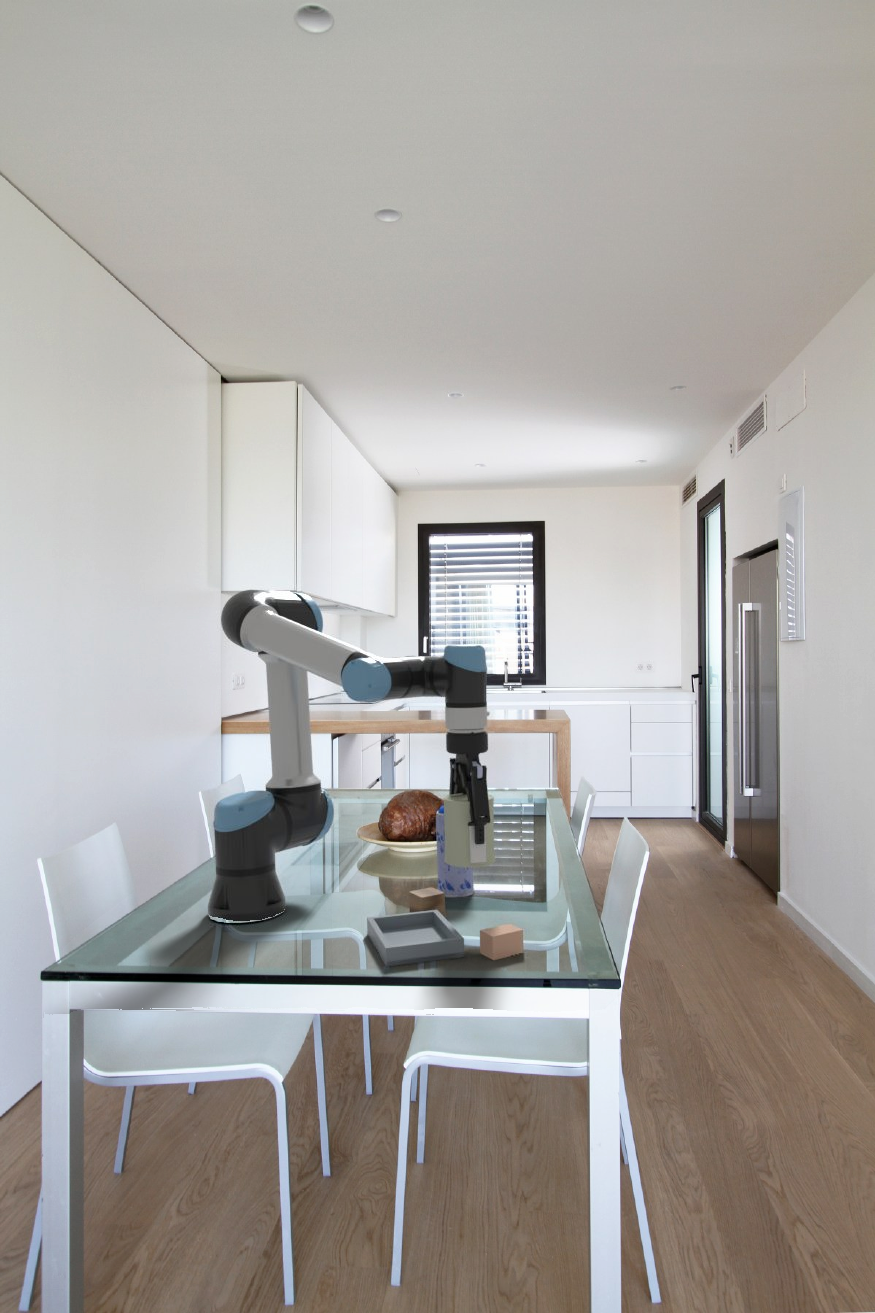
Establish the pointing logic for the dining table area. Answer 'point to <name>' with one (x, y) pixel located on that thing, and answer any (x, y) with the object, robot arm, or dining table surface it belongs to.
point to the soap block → (501, 941)
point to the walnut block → (427, 900)
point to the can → (464, 832)
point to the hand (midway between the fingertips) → (469, 855)
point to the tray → (414, 937)
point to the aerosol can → (451, 867)
